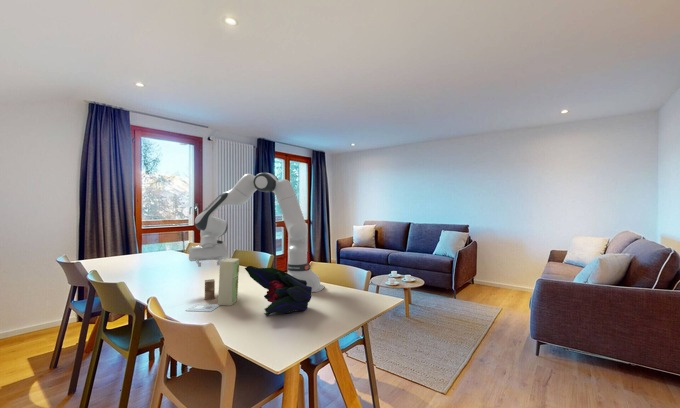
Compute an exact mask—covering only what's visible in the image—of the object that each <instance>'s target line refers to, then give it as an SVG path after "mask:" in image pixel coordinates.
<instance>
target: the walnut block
mask: <svg viewBox="0 0 680 408" xmlns="http://www.w3.org/2000/svg"><path fill="white" fill-rule="evenodd" d="M215 282H216V281H215V278H212V279H205V280H204V300H205V301H209V300H214V299H216V298H215V296H216V295H215V293H216V292H215V289H216V288H215V287H216V286H215V284H216V283H215Z"/></svg>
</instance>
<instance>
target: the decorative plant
mask: <svg viewBox="0 0 680 408" xmlns="http://www.w3.org/2000/svg"><path fill="white" fill-rule="evenodd" d="M244 269H245V271H246V272H247V274H248V276H249V277H250V278H251V279H253V281H255V282H256V283H257V284H258V285H259V286H261V287H263V288H264V289H265V290H267V291H266V294H264V295H263V297H264V299H265V300H267V302H269V303H270V304H269V305H267V307H264V311H265V313H263V314H264V315H265V316H269V315H272V314H274V313H275V314H278V315H283V314H284V315H285V314H289V313H293V312H297V311H300V312H305V311H307V310H308V305H309V303H310V301H311V299H312V293H313V292H312V287H310V286H307V282H306V281H305V280H299V279H297V278H295V277H293V276H291V275H290V274H288V272H287V271H283V270H281V269H278V268H274V267H256V266H253V265H248V266H246V267H244Z"/></svg>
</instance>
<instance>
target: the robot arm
mask: <svg viewBox="0 0 680 408" xmlns="http://www.w3.org/2000/svg"><path fill="white" fill-rule="evenodd" d="M256 191H259V192H261V193H262V192H263V193H274V195H275V197H276V199H277V200H276V201H277V203H278V205H279V206H278V207H279V209H280V211H281V215H282V218H283V222H284V225H285V228H286V231H287V236H288V237H287V239H288V240H287V242H288V243H287V264H286V273H288V274H290V275H291V276H293V277H295V278H297V279H299V280H305V281H306V282H307V286H310V287H312V292H311V293H318V292H320V291H322V290H323V289H324V288H325V285H324V284H323V283H321V279H320V276H319V275H318V274H317V273H315V271H313V270H312V269H311V266H312V264H311V263H309V262H308V239H307V238H308V226H307V223H306V220H305V218H304V214H303V211H302V208H301V206H300V203H299V200H298V197H297V194H296V192H295V189H294V187H293V185H292V183H291V181H289V180H288V179H284V178H283V179H278V177H277V175H275V174H272V173H269V172H260V173H257V174H256V175H254V174H251V173H245V174H244V175H243V176H242V177H241V178H240V179H239V180H238V181H237V182H236V183H235V185H234V186H233V187H232V188H231V189H230V190H228V191H224V192H222V193H220V194H219V195H218V196H217V197H216V198H215V199H214V200H213V201H212V202H211V203H210V204H209V205H208V206H207V207H206V208H205V209H204V210H202V211H201V212H200V213H198V214H197V215H196V217H195V219H194V223H193V224H194V226H195V227H196V229H197V230H199V231H200V233H199V235H200V240H199V244H200V245H192V246H190V247H188V249H187V250H188V251H187V252H188V260H189V262H195V263H196V264H197V267H198V268H202V262H203V261H215V260H216V266H220V261H222V260H224V259H226V258H229V250H228V247H227V246H226V241H225V240H220V239H218V238H221V237H222V236H224V235H225V234H226V233H228V229H229V228H228V227H229V226H228V225H229V224H228V222H227V220H225V219H223V218H220V217H218V216H214V214H215V213H217V211H218V210H219V209H221V208H222V207H223V206H242V205H245V204H246V203H248V202H249V200H250V199H251V198H252V196H253V194H254V193H255V192H256ZM200 261H201V262H200Z"/></svg>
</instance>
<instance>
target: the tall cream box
mask: <svg viewBox="0 0 680 408" xmlns="http://www.w3.org/2000/svg"><path fill="white" fill-rule="evenodd" d="M239 272H240V259H239V258H233V257H232V258H229V257H228V258H226V259H222V260H221V261H220V265H219V276H218V277H219V278H218V294H217V295H218V299H217V304H218V305H220V306H233V304H235V303H236V302H237V301H238V294H239V293H238V292H239V291H238V290H239Z"/></svg>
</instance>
